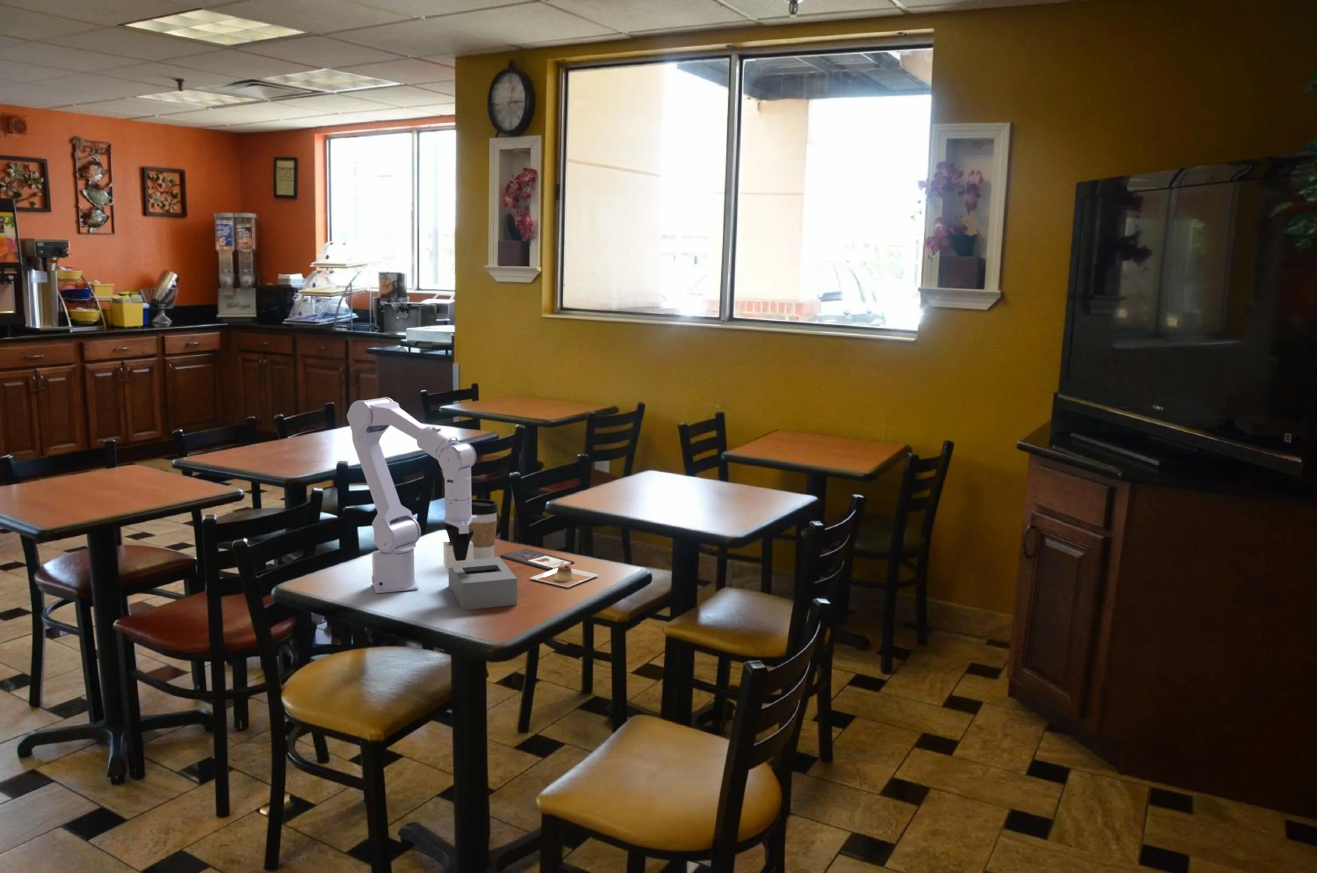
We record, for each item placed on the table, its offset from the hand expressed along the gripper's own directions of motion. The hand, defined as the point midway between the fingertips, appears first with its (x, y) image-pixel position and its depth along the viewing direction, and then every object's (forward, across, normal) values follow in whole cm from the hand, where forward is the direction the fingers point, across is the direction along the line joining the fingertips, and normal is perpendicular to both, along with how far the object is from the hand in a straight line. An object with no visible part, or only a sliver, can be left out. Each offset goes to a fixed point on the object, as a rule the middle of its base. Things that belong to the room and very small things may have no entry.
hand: (459, 557), depth 218 cm
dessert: (+10, +8, -26) cm, 29 cm away
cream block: (+2, 0, 0) cm, 2 cm away
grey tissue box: (+10, +1, -5) cm, 11 cm away
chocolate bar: (+10, +26, -24) cm, 36 cm away
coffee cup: (+10, +31, -11) cm, 34 cm away
